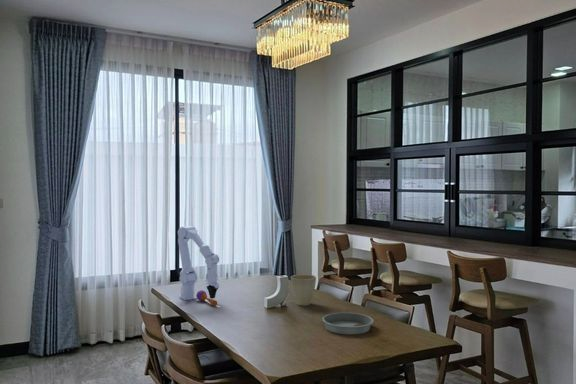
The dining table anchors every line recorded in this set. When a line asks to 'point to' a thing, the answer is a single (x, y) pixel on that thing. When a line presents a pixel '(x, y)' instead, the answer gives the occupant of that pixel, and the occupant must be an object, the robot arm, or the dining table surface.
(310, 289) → the plant pot
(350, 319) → the cake pan
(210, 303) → the strip
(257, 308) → the dining table surface
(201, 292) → the kendama
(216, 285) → the robot arm
